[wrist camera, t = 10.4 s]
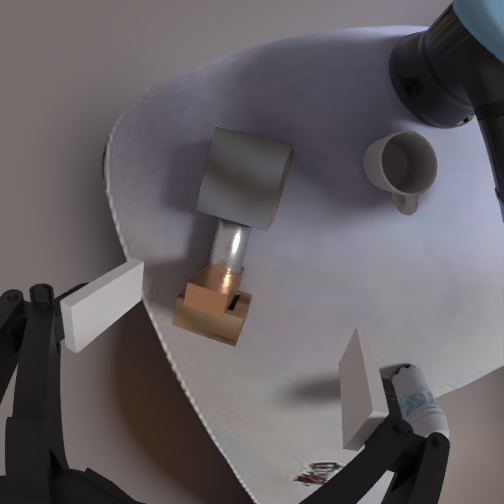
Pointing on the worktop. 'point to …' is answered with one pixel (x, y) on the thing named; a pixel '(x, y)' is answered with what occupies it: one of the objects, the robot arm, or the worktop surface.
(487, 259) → the worktop surface
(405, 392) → the bottle
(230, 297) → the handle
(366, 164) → the cup
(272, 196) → the sleeve and socket
